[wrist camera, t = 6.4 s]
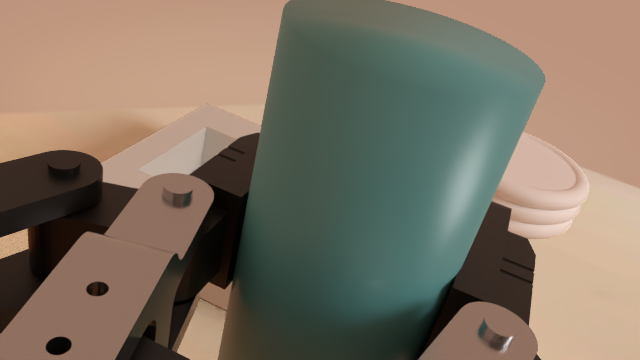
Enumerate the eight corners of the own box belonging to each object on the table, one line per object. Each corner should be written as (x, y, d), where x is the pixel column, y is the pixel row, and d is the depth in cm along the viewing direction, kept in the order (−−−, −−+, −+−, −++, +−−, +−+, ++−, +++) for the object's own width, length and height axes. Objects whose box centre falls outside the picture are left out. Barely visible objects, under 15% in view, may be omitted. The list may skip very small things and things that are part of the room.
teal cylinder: (378, 437, 16) (549, 49, 10) (325, 585, 12) (538, 128, 7) (247, 372, 16) (337, -18, 11) (165, 495, 13) (233, 21, 7)
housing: (480, 267, 32) (503, 221, 30) (445, 418, 23) (476, 363, 21) (200, 146, 35) (207, 100, 34) (70, 234, 26) (72, 175, 25)
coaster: (524, 166, 45) (544, 127, 44) (597, 248, 37) (624, 204, 35) (408, 151, 43) (424, 109, 41) (459, 237, 34) (482, 189, 33)
